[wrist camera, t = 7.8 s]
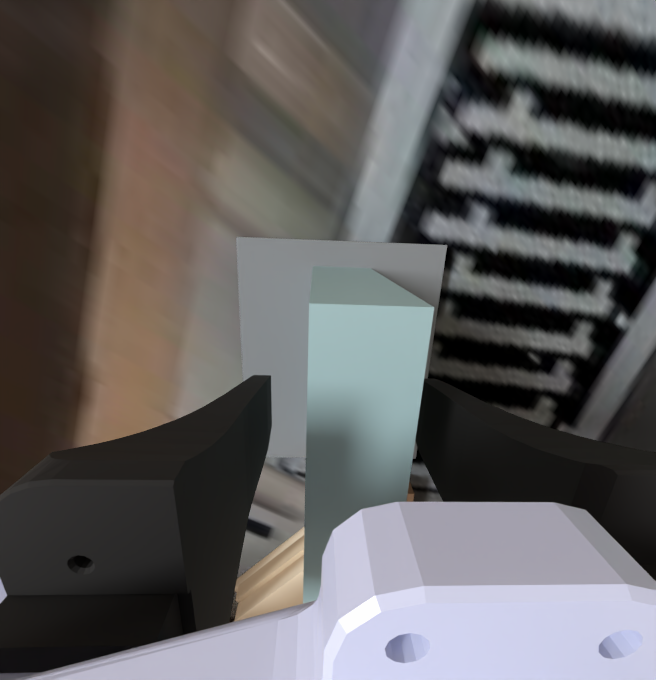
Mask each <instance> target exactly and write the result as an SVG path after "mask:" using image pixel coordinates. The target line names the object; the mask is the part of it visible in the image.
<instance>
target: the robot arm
mask: <svg viewBox="0 0 656 680" xmlns="http://www.w3.org/2000/svg"><path fill="white" fill-rule="evenodd" d="M271 428H272V400H271V375H253V376H251V377H249V378H248V379H246V380H245V381H244V382H242V383H241V384H239V385H238V386H236V387H235V388H233V389H232V390H230V391H229V392H227V393H226V394H224V395H223V396H221V397H219V398H218V399H216V400H214V401H213V402H211V403H209V404H208V405H206V406H204V407H202V408H200V409H198V410H196V411H194V412H192V413H190V414H188V415H186V416H184V417H181V418H179V419H177V420H174V421H171V422H169V423H166V424H163V425H161V426H158V427H155V428H152V429H150V430H147V431H144V432H140V433H137V434H133V435H130V436H126V437H123V438H119V439H115V440H111V441H107V442H103V443H98V444H93V445H88V446H83V447H78V448H73V449H68V450H63V451H57V452H52V453H51V454H49V455H48V456H47V457H46V458H45V459H43V460H42V461H41V462H40V463H38V464H37V465H36V466H35V467H34V468H32V469H31V470H30V471H29V472H28V473H26V474H25V475H24V476H23V477H22V478H20V479H19V480H18V481H17V482H16V483H14V484H13V485H12V486H11V487H9V488H8V489H7V490H6V491H5V492H3V493H2V494H1V495H0V680H656V453H655V452H649V451H643V450H637V449H632V448H627V447H622V446H618V445H613V444H609V443H604V442H600V441H596V440H592V439H588V438H584V437H580V436H576V435H573V434H569V433H566V432H562V431H559V430H555V429H552V428H549V427H546V426H543V425H540V424H537V423H534V422H532V421H529V420H526V419H523V418H521V417H518V416H515V415H513V414H510V413H508V412H506V411H504V410H501V409H499V408H497V407H494V406H492V405H490V404H488V403H486V402H484V401H482V400H480V399H477V398H475V397H473V396H471V395H469V394H467V393H465V392H463V391H461V390H459V389H457V388H455V387H453V386H451V385H449V384H447V383H445V382H443V381H440V380H437V379H425V378H424V383H423V390H422V397H421V404H420V411H419V418H418V425H417V432H416V439H415V441H416V444H417V447H418V450H419V452H420V455H421V457H422V459H423V461H424V463H425V465H426V467H427V469H428V471H429V473H430V475H431V477H432V480H433V482H434V484H435V486H436V488H437V490H438V492H439V494H440V496H441V498H442V500H443V502H392V503H387V504H383V505H378V506H373V507H368V508H363V509H361V510H360V511H358V512H357V513H355V514H354V515H353V516H351V517H350V518H349V519H347V520H346V521H345V522H343V523H342V524H341V525H339V526H338V527H336V528H335V529H334V530H333V531H332V534H331V536H330V539H329V541H328V544H327V546H326V549H325V551H324V554H323V556H322V573H321V587H320V591H319V596H318V598H317V600H315V601H311V602H307V603H303V604H300V605H296V606H292V607H288V608H284V609H281V610H277V611H273V612H269V613H265V614H262V615H258V616H254V617H250V618H246V619H243V620H239V621H235V622H231V623H229V621H230V615H231V609H232V603H233V597H234V592H235V586H236V580H237V574H238V569H239V563H240V558H241V552H242V547H243V542H244V537H245V531H246V526H247V521H248V516H249V512H250V508H251V504H252V501H253V498H254V494H255V491H256V488H257V484H258V481H259V478H260V475H261V471H262V468H263V465H264V461H265V458H266V454H267V451H268V447H269V441H270V435H271Z"/></svg>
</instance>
